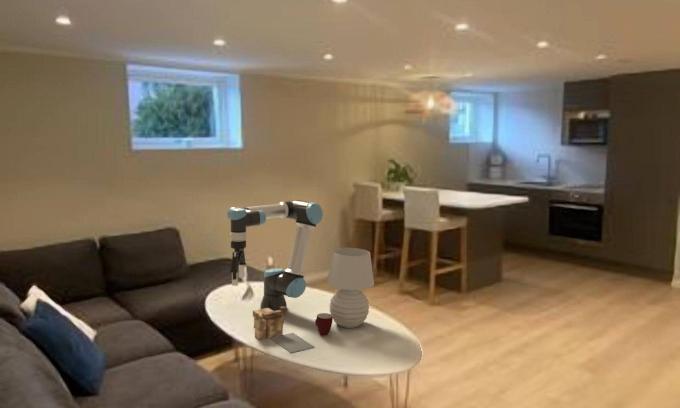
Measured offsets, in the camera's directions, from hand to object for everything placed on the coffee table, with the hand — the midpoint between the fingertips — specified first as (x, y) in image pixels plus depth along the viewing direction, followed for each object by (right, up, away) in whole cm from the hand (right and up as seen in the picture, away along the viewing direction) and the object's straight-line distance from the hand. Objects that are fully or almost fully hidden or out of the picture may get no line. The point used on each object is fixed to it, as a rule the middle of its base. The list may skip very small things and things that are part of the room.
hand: (238, 281), depth 258 cm
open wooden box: (+12, -26, +4) cm, 29 cm away
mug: (+42, -28, +5) cm, 51 cm away
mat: (+28, -29, -8) cm, 41 cm away
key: (+18, -18, 0) cm, 25 cm away
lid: (+14, -20, +5) cm, 25 cm away
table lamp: (+56, -26, +20) cm, 65 cm away
